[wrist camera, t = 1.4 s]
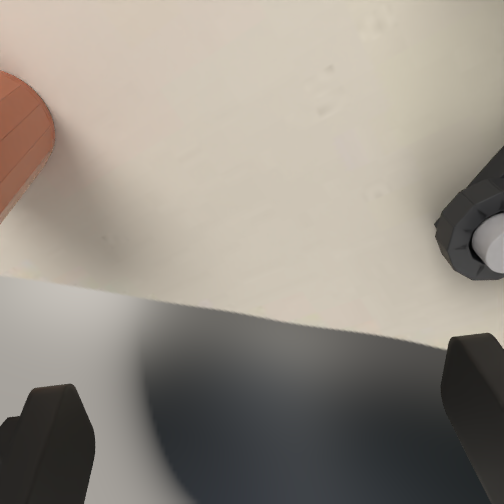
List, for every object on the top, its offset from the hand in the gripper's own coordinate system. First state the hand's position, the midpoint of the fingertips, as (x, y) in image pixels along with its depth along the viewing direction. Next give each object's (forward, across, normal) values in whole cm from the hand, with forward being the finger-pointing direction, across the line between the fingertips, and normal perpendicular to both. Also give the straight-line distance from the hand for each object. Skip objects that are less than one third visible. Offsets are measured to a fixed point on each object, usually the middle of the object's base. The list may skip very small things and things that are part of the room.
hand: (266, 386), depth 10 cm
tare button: (+15, +14, -7) cm, 22 cm away
